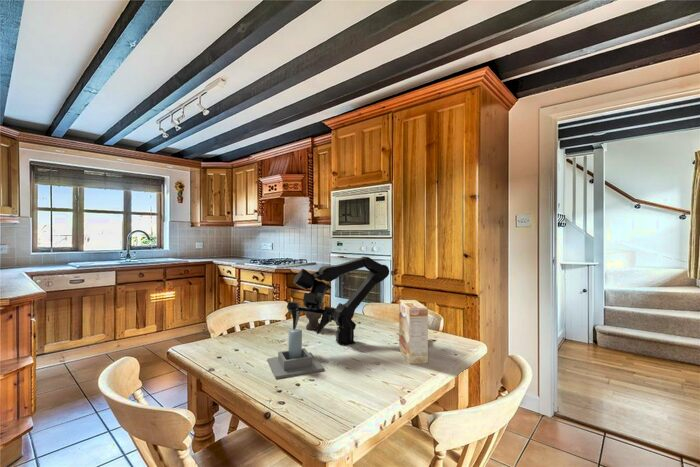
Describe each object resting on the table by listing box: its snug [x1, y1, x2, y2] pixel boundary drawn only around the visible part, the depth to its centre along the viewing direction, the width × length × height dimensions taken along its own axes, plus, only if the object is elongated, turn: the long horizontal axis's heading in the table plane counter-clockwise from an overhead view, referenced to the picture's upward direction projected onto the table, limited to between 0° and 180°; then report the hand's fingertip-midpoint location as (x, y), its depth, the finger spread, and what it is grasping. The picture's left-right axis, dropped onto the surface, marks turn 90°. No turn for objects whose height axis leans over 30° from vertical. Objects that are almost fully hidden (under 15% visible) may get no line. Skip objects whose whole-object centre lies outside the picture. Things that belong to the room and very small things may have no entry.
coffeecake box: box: [398, 299, 429, 365], centre depth 120 cm, size 15×7×20 cm, turn 5°
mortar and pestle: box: [304, 291, 328, 331], centre depth 155 cm, size 12×9×20 cm
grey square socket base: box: [266, 347, 325, 380], centre depth 110 cm, size 16×16×4 cm
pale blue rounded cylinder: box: [287, 328, 303, 360], centre depth 111 cm, size 4×4×11 cm
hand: (305, 331), depth 119 cm, fingers open, 9 cm apart
